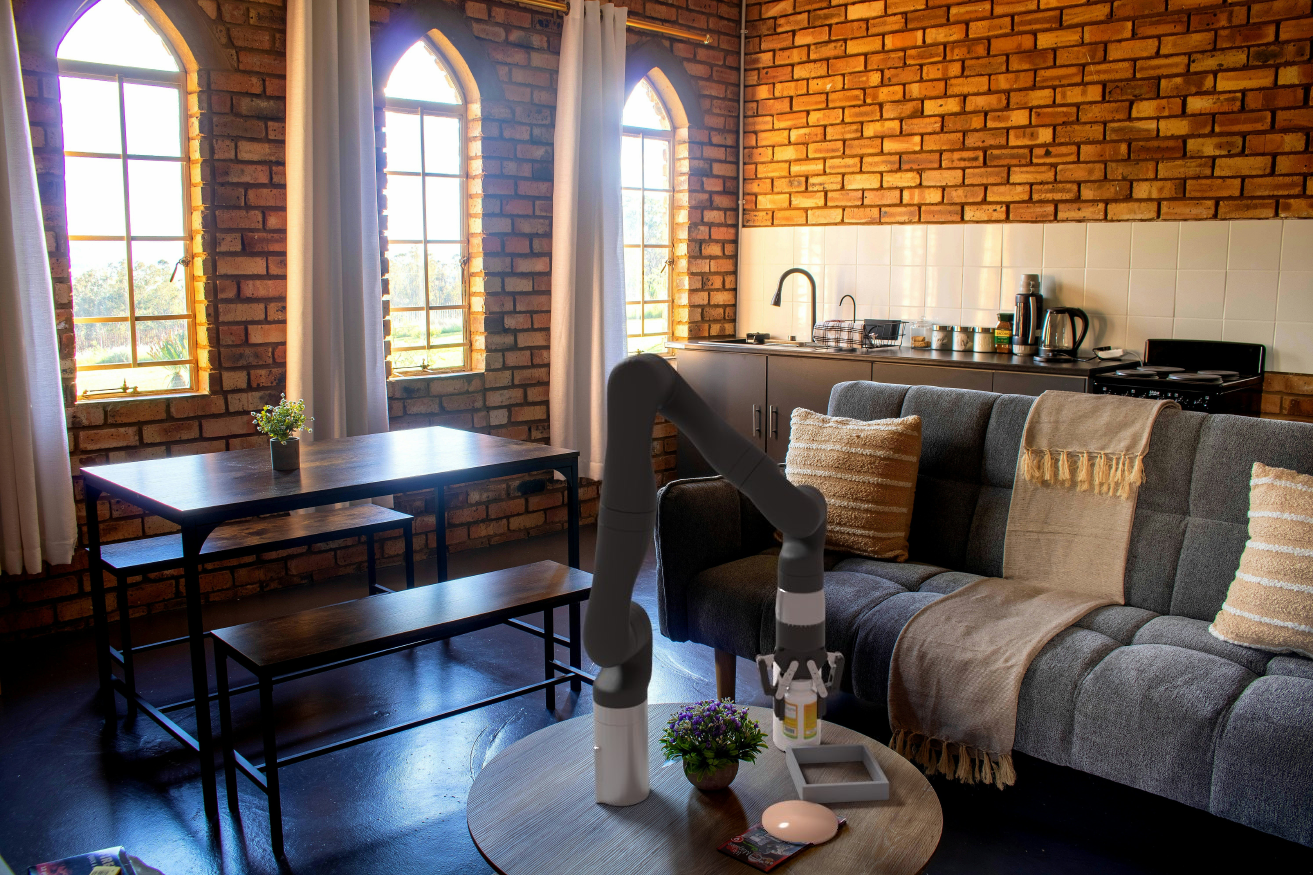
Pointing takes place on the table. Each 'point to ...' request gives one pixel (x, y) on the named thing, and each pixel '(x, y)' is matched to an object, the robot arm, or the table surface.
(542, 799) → the table surface
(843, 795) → the bin
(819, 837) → the plate
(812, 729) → the supplement bottle
